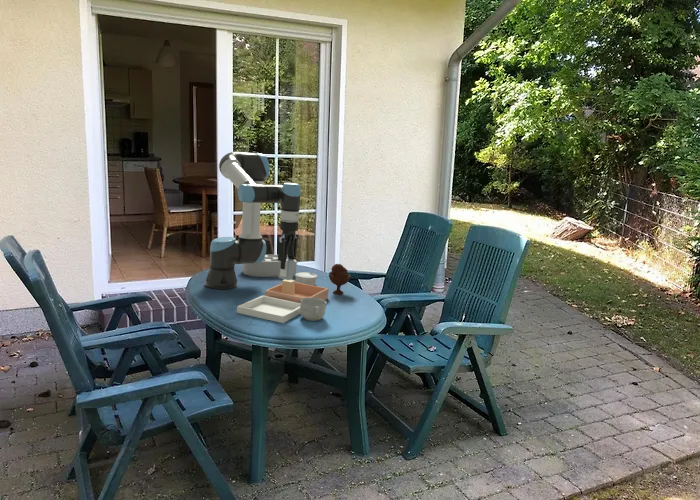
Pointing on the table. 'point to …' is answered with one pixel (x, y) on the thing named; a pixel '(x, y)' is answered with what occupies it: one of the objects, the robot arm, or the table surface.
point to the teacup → (312, 308)
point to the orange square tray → (298, 292)
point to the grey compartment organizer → (265, 267)
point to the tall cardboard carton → (288, 287)
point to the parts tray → (270, 309)
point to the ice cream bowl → (339, 277)
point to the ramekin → (306, 278)
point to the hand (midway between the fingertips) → (286, 275)
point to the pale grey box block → (288, 269)
